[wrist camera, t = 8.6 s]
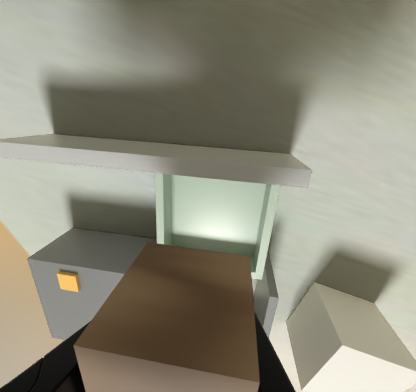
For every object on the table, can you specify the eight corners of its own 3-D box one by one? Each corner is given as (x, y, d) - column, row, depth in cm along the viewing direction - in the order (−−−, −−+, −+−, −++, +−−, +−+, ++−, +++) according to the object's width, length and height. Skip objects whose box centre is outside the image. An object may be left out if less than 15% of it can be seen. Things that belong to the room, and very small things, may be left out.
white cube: (373, 302, 20) (426, 375, 14) (339, 340, 22) (373, 416, 16) (313, 280, 20) (342, 345, 14) (285, 321, 22) (301, 390, 17)
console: (73, 227, 21) (23, 261, 17) (269, 254, 19) (279, 301, 14) (86, 295, 25) (49, 340, 20) (254, 324, 23) (259, 382, 18)
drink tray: (52, 134, 18) (-16, 140, 13) (290, 153, 16) (312, 170, 11) (72, 232, 21) (24, 265, 17) (268, 259, 19) (278, 305, 15)
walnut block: (151, 314, 11) (97, 437, 7) (147, 242, 9) (73, 345, 5) (237, 329, 10) (236, 471, 6) (249, 256, 9) (259, 382, 5)
